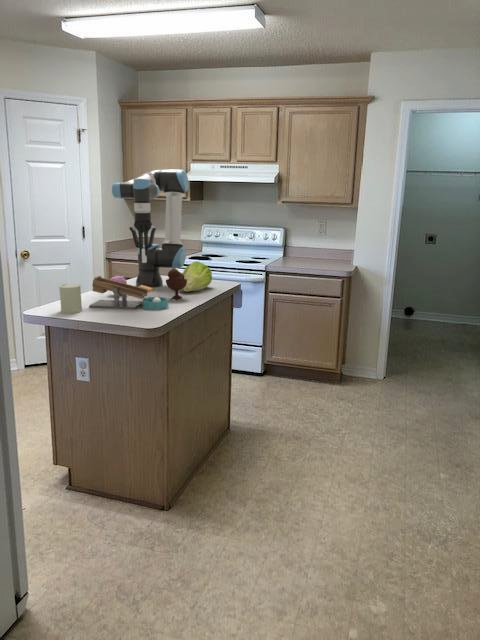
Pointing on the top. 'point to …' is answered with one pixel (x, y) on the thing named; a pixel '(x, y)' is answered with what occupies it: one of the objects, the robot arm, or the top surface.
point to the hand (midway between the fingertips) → (144, 262)
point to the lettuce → (197, 276)
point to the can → (70, 298)
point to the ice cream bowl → (176, 282)
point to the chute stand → (116, 302)
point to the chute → (119, 287)
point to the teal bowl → (154, 303)
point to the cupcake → (119, 280)
